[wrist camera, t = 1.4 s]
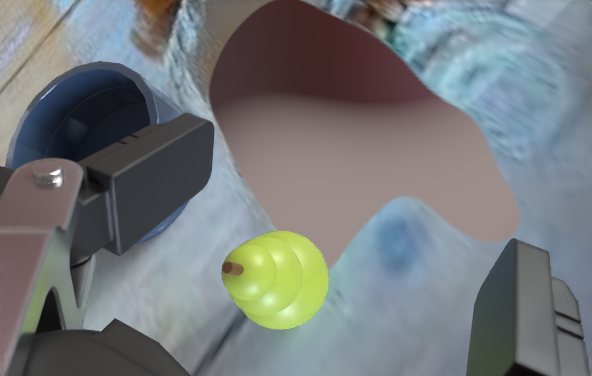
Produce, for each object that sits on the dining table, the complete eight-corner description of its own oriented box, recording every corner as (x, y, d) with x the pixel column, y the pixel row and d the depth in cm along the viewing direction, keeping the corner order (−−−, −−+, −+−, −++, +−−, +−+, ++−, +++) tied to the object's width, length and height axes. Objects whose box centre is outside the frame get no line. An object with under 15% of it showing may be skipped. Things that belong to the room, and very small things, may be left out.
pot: (180, 74, 40) (136, 32, 34) (219, 207, 35) (176, 185, 29) (59, 137, 42) (-2, 108, 36) (80, 270, 37) (13, 262, 31)
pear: (319, 226, 32) (265, 183, 21) (351, 309, 30) (308, 307, 19) (244, 258, 33) (157, 232, 22) (270, 340, 31) (186, 356, 20)
